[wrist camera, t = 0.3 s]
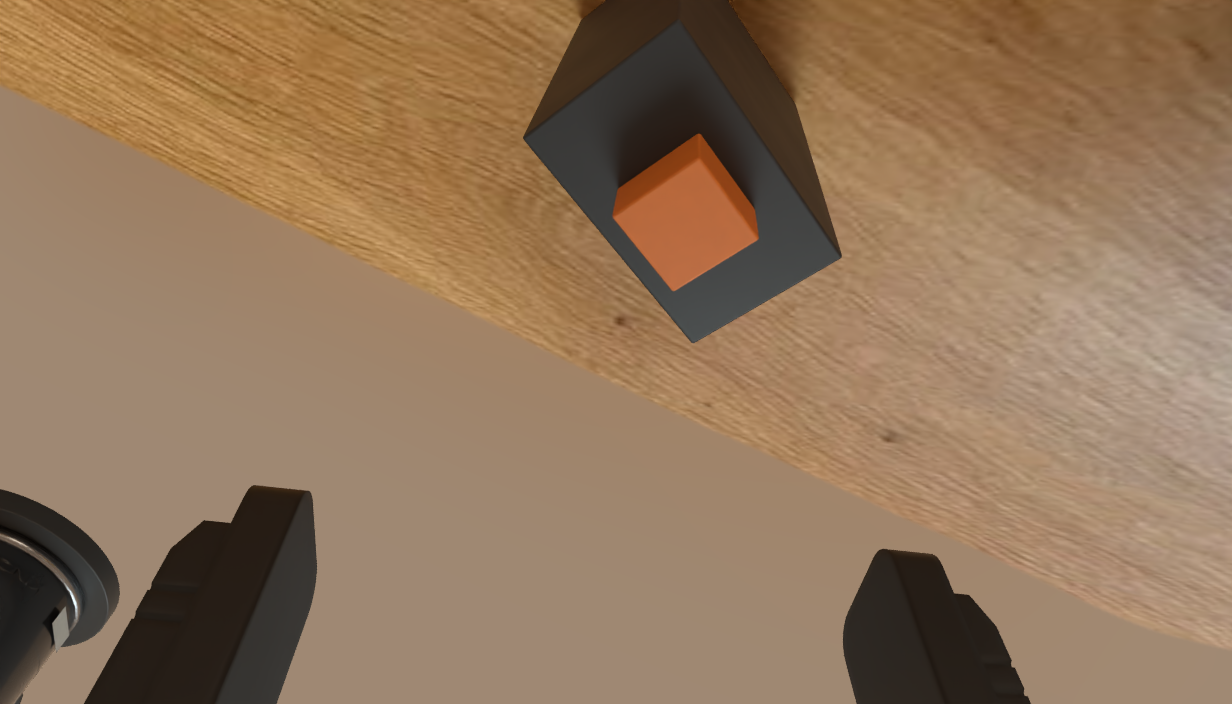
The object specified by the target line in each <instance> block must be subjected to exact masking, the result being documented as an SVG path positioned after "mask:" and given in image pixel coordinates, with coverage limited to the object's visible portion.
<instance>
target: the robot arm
mask: <svg viewBox="0 0 1232 704" xmlns="http://www.w3.org/2000/svg"><path fill="white" fill-rule="evenodd" d="M316 574H317V560H316V545H315V529H314V515H313V500H312V495H311V493H310V491H304V490H294V489H284V488H275V487H266V486H256V485H253V486H251V487H250V488H249V489H248V491H247V493H246V494H245V496H244V498H243V500H242V502H241V504H240V506H239V508H238V510H237V512H236V514H235V516H234V518H233V520H232V522H231V523H225V522H214V521H205V520H204V521H203V522H201V524H199V525H198V526H197V527H196V528H194V529H193V530H192V531H191V532H190V533H189V534H187V535H186V536H185V537H184V538H183V539H182V540H181V541H179V542H178V543H177V544H176V545H174V546H173V547H172V548H171V549H170V551H169V553H168V555H167V556H166V558H165V560H164V562H163V564H162V565H161V567H160V569H159V571H158V572H157V574H156V576H155V578H154V580H153V581H152V586H151V589H150V590H147V592H146V594H145V596H144V597H143V599H142V601H141V603H140V605H139V606H138V608H137V610H136V615H135V618H134V619H131V621H130V623H129V624H128V626H127V628H126V630H125V631H124V633H123V635H122V637H121V638H120V640H119V642H118V644H117V646H116V647H115V649H114V651H113V653H112V655H111V656H110V658H109V660H108V662H107V663H106V665H105V667H104V669H103V671H102V673H101V674H100V676H99V678H98V680H97V681H96V683H95V685H94V687H93V688H92V690H91V692H90V694H89V696H88V697H87V699H86V701H85V703H84V704H276V703H277V700H278V698H279V695H280V692H281V690H282V686H283V684H284V681H285V678H286V675H287V672H288V669H289V667H290V664H291V661H292V658H293V656H294V653H295V650H296V647H297V644H298V642H299V639H300V636H301V633H302V630H303V628H304V625H305V622H306V619H307V616H308V613H309V610H310V607H311V603H312V599H313V594H314V590H315V583H316ZM84 609H85V598H84V594H83V591H82V588H81V586H80V584H79V582H78V581H77V579H76V577H75V576H74V575H73V573H72V572H71V571H70V569H69V568H68V567H67V566H66V565H65V564H64V563H63V562H62V561H61V560H60V559H59V558H58V557H56V556H55V555H54V554H53V553H52V552H50V551H49V550H48V549H46V548H45V547H43V546H42V545H40V544H39V543H37V542H35V541H34V540H32V539H30V538H28V537H26V536H25V535H23V534H21V533H18V532H16V531H14V530H11V529H9V528H6V527H4V526H0V704H20V702H21V700H22V697H23V692H24V690H25V688H27V686H28V685H29V683H30V682H31V681H32V679H33V678H34V677H35V676H36V675H37V673H38V672H39V670H40V669H41V668H42V666H43V665H44V663H45V662H46V661H47V660H48V658H49V657H50V655H51V654H52V653H53V652H54V650H55V649H56V652H57V651H58V650H59V648H60V647H61V646H62V644H63V643H64V642H65V640H66V639H67V638H68V636H69V633H70V632H71V631H72V629H73V628H74V627H75V625H76V624H77V623H78V621H79V620H80V619H81V617H82V615H83V612H84ZM843 649H844V656H845V661H846V665H847V669H848V672H849V676H850V680H851V684H852V688H853V691H854V695H855V699H856V703H857V704H1031V703H1030V701H1029V698H1028V697H1027V696H1024V687H1023V685H1022V683H1021V680H1020V678H1019V676H1018V674H1017V672H1016V669H1015V668H1013V667H1011V661H1012V660H1011V658H1010V656H1009V654H1008V652H1007V649H1006V647H1005V645H1004V643H1003V640H1002V638H1001V636H1000V634H999V631H998V629H997V627H996V626H995V624H994V623H993V622H992V621H991V620H990V619H989V618H988V616H986V614H985V613H984V612H983V611H982V609H981V608H980V607H979V606H978V605H977V604H976V603H975V601H974V600H973V599H972V598H971V597H970V596H969V595H964V594H954V592H953V590H952V588H951V586H950V583H949V580H948V578H947V576H946V574H945V571H944V568H943V566H942V564H941V562H940V560H939V559H938V558H937V557H936V556H935V555H933V554H926V553H917V552H907V551H898V550H888V549H881V550H879V551H878V552H877V553H876V555H875V556H874V558H873V560H872V562H871V564H870V567H869V569H868V571H867V573H866V575H865V577H864V579H863V582H862V584H861V586H860V588H859V590H858V592H857V594H856V596H855V599H854V601H853V603H852V605H851V607H850V609H849V611H848V614H847V616H846V620H845V625H844V631H843Z"/></svg>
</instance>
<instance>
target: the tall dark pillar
mask: <svg viewBox="0 0 1232 704" xmlns="http://www.w3.org/2000/svg"><path fill="white" fill-rule="evenodd" d="M523 139H524V140H525V142H526V143H527V144H528V145H529V147H530V148H531V149H532V150H533V151H534V153H535V154H536V155H537V156H538V157H539V159H540V160H541V161H542V162H543V163H544V165H545V166H546V167H547V168H548V170H549V171H550V172H551V173H552V174H553V176H554V177H555V178H556V179H557V180H558V182H559V183H560V184H561V185H562V186H563V188H564V189H565V190H566V191H567V193H568V194H569V195H570V196H571V197H572V199H573V200H574V201H575V202H576V203H577V205H578V206H579V207H580V208H581V209H582V211H583V212H584V213H585V214H586V216H587V217H588V218H589V219H590V220H591V222H592V223H593V224H594V225H595V226H596V228H597V229H598V230H599V231H600V232H601V234H602V235H603V236H604V237H605V239H606V240H607V241H608V242H609V243H610V245H611V246H612V247H613V248H614V249H615V251H616V252H617V253H618V254H619V255H620V257H621V258H622V259H623V260H624V262H625V263H626V264H627V265H628V266H629V268H630V269H631V270H632V271H633V272H634V274H635V275H636V276H637V277H638V278H639V280H640V281H641V282H642V283H643V284H644V286H645V287H646V288H647V289H648V291H649V292H650V293H651V294H652V295H653V297H654V298H655V299H656V300H657V301H658V303H659V304H660V305H661V306H662V307H663V309H664V310H665V311H666V312H667V314H668V315H669V316H670V317H671V318H672V320H673V321H674V322H675V323H676V324H677V326H678V327H679V328H680V329H681V330H682V332H683V333H684V334H685V335H686V337H687V338H688V339H689V340H690V341H691V342H692V343H695V342H697V341H698V340H700V339H702V338H704V337H705V336H707V335H709V334H711V333H712V332H714V331H716V330H717V329H719V328H721V327H723V326H724V325H726V324H728V323H730V322H731V321H733V320H735V319H737V318H738V317H740V316H742V315H743V314H745V313H747V312H749V311H750V310H752V309H754V308H756V307H757V306H759V305H761V304H762V303H764V302H766V301H768V300H769V299H771V298H773V297H775V296H776V295H778V294H780V293H781V292H783V291H785V290H787V289H788V288H790V287H792V286H794V285H795V284H797V283H799V282H800V281H802V280H804V279H806V278H807V277H809V276H811V275H813V274H814V273H816V272H818V271H820V270H821V269H823V268H825V267H826V266H828V265H830V264H832V263H833V262H835V261H837V260H839V259H840V258H841V257H842V254H841V251H840V248H839V245H838V241H837V238H836V235H835V231H834V228H833V225H832V222H831V218H830V215H829V212H828V209H827V205H826V202H825V199H824V196H823V192H822V189H821V186H820V183H819V179H818V176H817V173H816V170H815V166H814V163H813V160H812V156H811V153H810V150H809V147H808V143H807V140H806V137H805V134H804V130H803V127H802V124H801V121H800V117H799V114H798V111H797V108H796V105H795V103H794V102H793V100H792V99H791V97H790V96H789V94H788V93H787V91H786V89H785V88H784V86H783V85H782V83H781V82H780V80H779V79H778V77H777V76H776V74H775V73H774V71H773V70H772V68H771V67H770V65H769V63H768V62H767V60H766V59H765V57H764V56H763V54H762V53H761V51H760V50H759V48H758V47H757V45H756V44H755V42H754V40H753V39H752V37H751V36H750V34H749V33H748V31H747V30H746V28H745V27H744V25H743V24H742V22H741V21H740V19H739V18H738V16H737V14H736V13H735V11H734V10H733V8H732V7H731V5H730V4H729V2H728V1H727V0H606V1H605V2H603V3H602V4H601V5H600V6H599V7H597V8H596V9H595V10H594V11H592V12H591V13H590V14H589V15H587V16H586V17H585V18H584V19H582V20H581V22H580V24H579V26H578V28H577V30H576V32H575V34H574V36H573V38H572V40H571V42H570V44H569V46H568V48H567V50H566V52H565V54H564V56H563V58H562V60H561V62H560V64H559V66H558V68H557V70H556V72H555V74H554V76H553V78H552V80H551V82H550V84H549V86H548V88H547V90H546V92H545V94H544V96H543V98H542V100H541V102H540V104H539V106H538V108H537V110H536V112H535V114H534V116H533V118H532V120H531V122H530V124H529V126H528V128H527V130H526V133H525V135H524V137H523Z"/></svg>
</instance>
